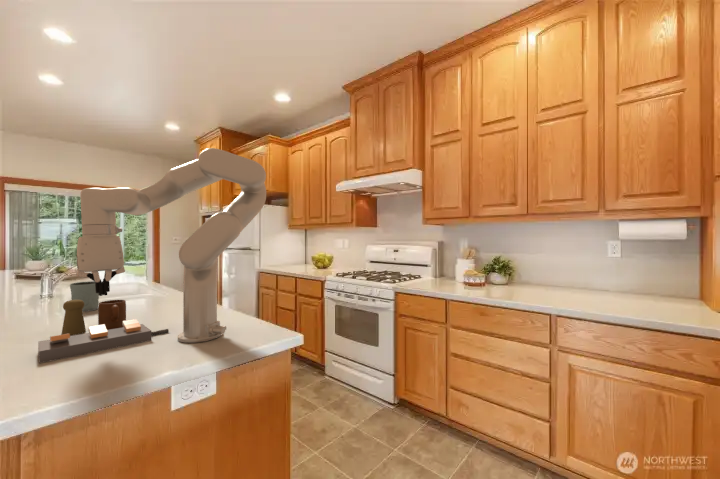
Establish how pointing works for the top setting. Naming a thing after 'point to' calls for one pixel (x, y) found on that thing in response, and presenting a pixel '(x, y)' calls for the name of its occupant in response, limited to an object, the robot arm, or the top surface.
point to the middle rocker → (98, 331)
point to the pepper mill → (73, 318)
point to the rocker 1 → (59, 338)
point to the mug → (112, 313)
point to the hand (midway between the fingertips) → (102, 294)
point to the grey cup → (85, 294)
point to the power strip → (93, 343)
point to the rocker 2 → (131, 325)
